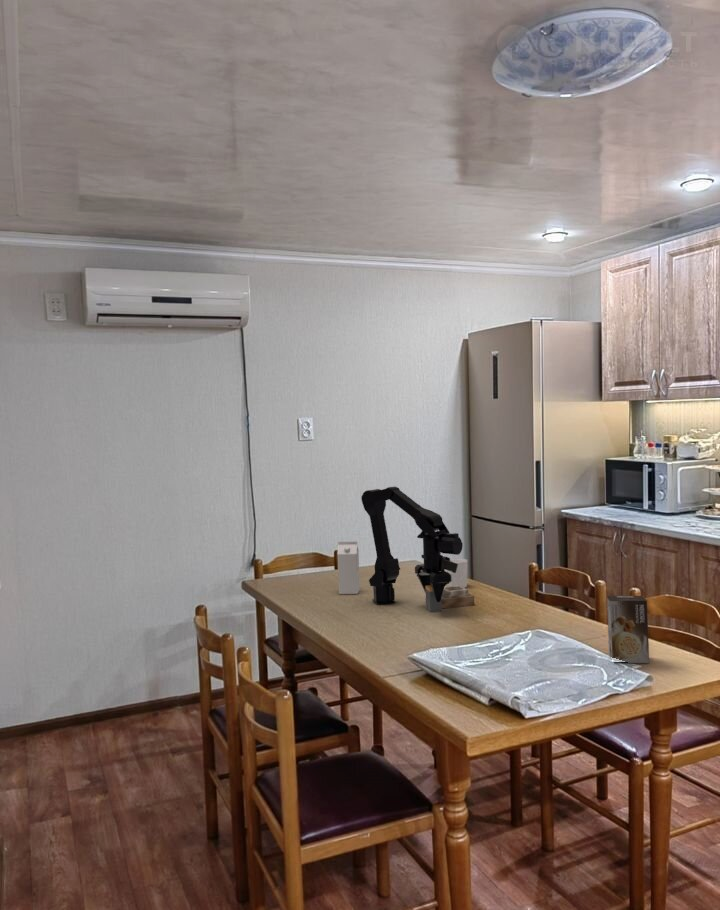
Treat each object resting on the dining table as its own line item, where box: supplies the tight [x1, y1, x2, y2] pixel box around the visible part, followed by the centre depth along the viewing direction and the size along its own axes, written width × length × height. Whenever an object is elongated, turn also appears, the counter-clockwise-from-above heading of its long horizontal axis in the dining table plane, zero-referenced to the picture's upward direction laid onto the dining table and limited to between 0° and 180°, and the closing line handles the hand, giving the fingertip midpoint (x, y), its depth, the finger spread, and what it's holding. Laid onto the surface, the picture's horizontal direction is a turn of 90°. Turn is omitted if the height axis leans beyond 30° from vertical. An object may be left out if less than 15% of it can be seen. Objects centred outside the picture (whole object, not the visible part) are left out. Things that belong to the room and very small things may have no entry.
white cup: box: [446, 558, 468, 589], centre depth 287 cm, size 8×8×10 cm
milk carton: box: [337, 540, 361, 595], centre depth 284 cm, size 7×7×19 cm
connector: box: [425, 585, 443, 613], centre depth 253 cm, size 4×4×8 cm
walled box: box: [441, 585, 475, 609], centre depth 262 cm, size 12×11×5 cm
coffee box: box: [606, 594, 650, 664], centre depth 195 cm, size 9×6×16 cm
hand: (433, 598), depth 253 cm, fingers open, 9 cm apart
